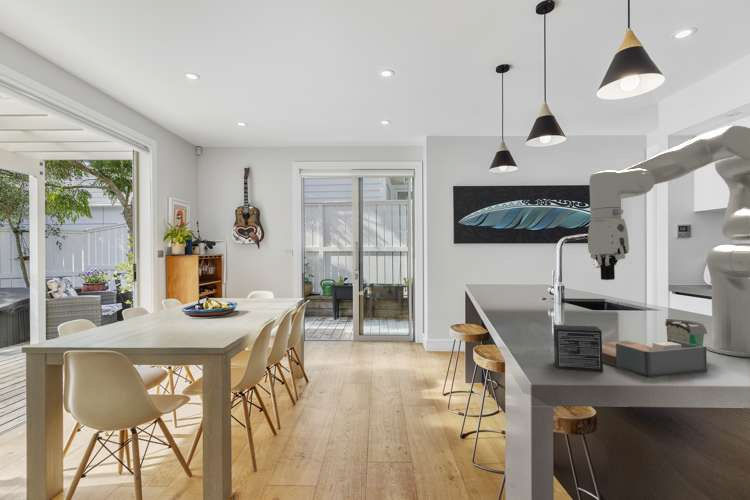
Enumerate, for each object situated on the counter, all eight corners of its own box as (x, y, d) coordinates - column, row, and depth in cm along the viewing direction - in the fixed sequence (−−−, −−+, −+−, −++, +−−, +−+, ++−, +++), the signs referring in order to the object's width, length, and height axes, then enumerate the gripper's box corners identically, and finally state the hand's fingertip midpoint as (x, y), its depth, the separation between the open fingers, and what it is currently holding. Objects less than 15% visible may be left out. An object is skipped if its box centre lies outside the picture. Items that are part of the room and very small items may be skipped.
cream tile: (670, 341, 98) (681, 344, 95) (670, 362, 98) (681, 366, 95) (652, 342, 97) (663, 345, 94) (652, 364, 97) (663, 367, 94)
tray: (671, 361, 101) (670, 339, 101) (706, 371, 93) (706, 347, 93) (616, 366, 97) (615, 343, 97) (647, 377, 88) (647, 352, 89)
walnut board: (628, 348, 114) (628, 340, 114) (670, 360, 101) (670, 351, 101) (578, 353, 110) (577, 344, 110) (615, 366, 97) (615, 356, 97)
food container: (719, 366, 96) (718, 327, 96) (692, 365, 97) (691, 327, 97) (689, 353, 108) (689, 319, 108) (665, 352, 110) (664, 318, 110)
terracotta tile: (636, 353, 99) (640, 343, 98) (654, 366, 94) (659, 357, 93) (619, 354, 98) (623, 345, 97) (636, 368, 93) (640, 358, 92)
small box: (597, 365, 99) (597, 325, 99) (603, 372, 93) (603, 330, 93) (553, 361, 102) (553, 323, 102) (556, 368, 96) (556, 328, 96)
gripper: (640, 212, 100) (642, 280, 100) (595, 217, 115) (597, 277, 115) (617, 212, 98) (619, 282, 98) (574, 217, 113) (576, 278, 113)
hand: (607, 279), depth 106 cm, fingers closed
